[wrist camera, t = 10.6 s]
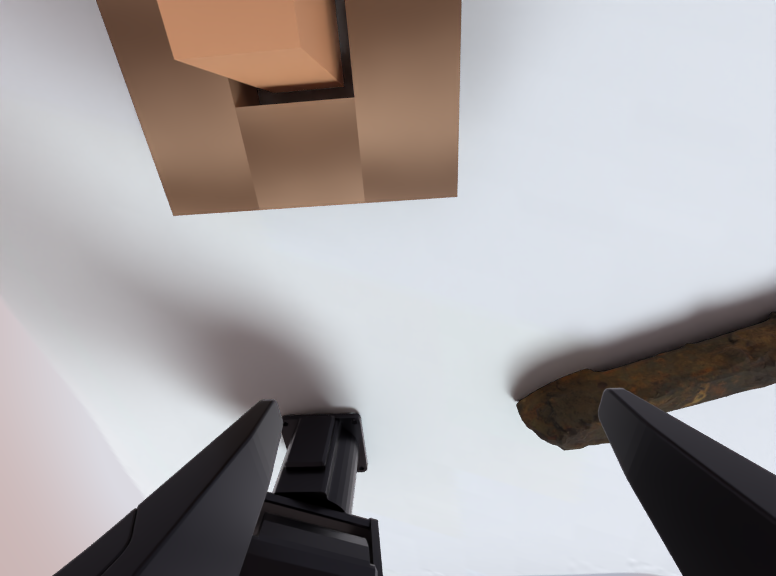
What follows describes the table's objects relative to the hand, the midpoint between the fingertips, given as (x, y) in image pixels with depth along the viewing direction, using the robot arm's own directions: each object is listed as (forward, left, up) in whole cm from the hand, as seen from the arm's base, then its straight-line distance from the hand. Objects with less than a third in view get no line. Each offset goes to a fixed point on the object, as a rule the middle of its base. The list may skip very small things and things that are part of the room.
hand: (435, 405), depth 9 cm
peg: (+11, +5, -12) cm, 17 cm away
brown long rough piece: (-10, -16, -12) cm, 23 cm away
